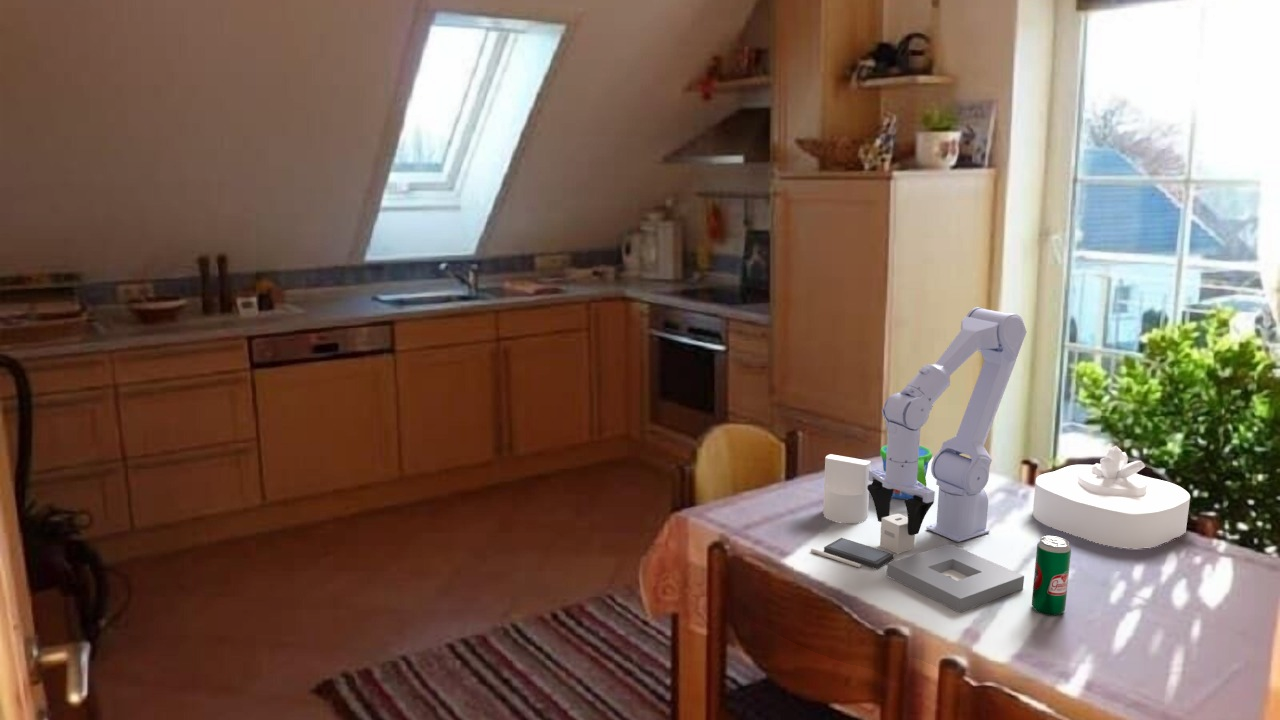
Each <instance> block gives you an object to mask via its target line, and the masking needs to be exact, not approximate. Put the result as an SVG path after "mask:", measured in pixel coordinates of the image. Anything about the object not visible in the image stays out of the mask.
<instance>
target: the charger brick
mask: <svg viewBox="0 0 1280 720" xmlns="http://www.w3.org/2000/svg"><path fill="white" fill-rule="evenodd" d="M915 537H916V534H915V535H909V534H908V516H905V515H903V514H901V513H894V514H891V515H890V514H889V516H887V517H883V518H882V521H881V522H880V542H879V545H880V546H881V547H882V548H884V549H886V550H889V551H891V552H893V553H895V554H901V553H904V552H907V551H911V550H913V549H915V541H916V538H915ZM880 546H879V547H880Z"/></svg>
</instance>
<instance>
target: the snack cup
mask: <svg viewBox="0 0 1280 720" xmlns="http://www.w3.org/2000/svg"><path fill="white" fill-rule="evenodd" d="M879 454H880V457H881V459H882V467H883V470H882V471H885V472H886V456H887V444H885V445H883V446H882V447H881V448H880V449H879ZM932 458H933V453H932V451H931V450H930V449H929V448H927V447H925V446H922V445H919V457H918V472H917V481H919V482H920V483H921V484H923V485H924V486H926V487H927V479H926V478H927V477H926V476H927V471H928V467H929V463H930V461H931V460H932ZM892 498H894V499H900V500H907V499H911V498H913V496H911V495H909V494H906V493H904V492H901V491H899V490H896V489H894V491H893V494H892Z"/></svg>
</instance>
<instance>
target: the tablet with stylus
mask: <svg viewBox="0 0 1280 720" xmlns="http://www.w3.org/2000/svg"><path fill="white" fill-rule="evenodd" d="M810 552H811V553H814V554H815V555H819V556H822V557H825V558H829V559H831V560H835V561H837V562H840V563H844V564H846V565H848V566H849V565H850V566H852V567H855V568H858V569H860V568H862V566H865V567H868V568H870V569H874V570H878V569H880V568H881V567H883V566H884V565H886V564H887V563H890V562H892V561H893V560H894V553H892V552H889V551H886V550H882V549H879V548H876V547H872V546H870V545H867V544H863V543H859V542H856V541H853V540H850V539H847V538H844V537H840V538H838V539H836V540H835V541H833V542H831V543H829V544H827V545H825V546H823V551H821V550H818V549H815V548H811V549H810Z"/></svg>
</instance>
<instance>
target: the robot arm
mask: <svg viewBox="0 0 1280 720" xmlns="http://www.w3.org/2000/svg"><path fill="white" fill-rule="evenodd" d="M1026 334H1027V330H1026V326H1025V323H1024V321H1023V318H1022V317H1021V316H1020V315H1018V314H1017V313H1008V312H1002V311H996V310H991V309H987V308H983V307H980V306H977V307H976V306H975V307H974V308H971V310H970V311H969V312H968V313H967V314H966V316H965V317H964V318H963V319H962V320H961V321H960V331H959V332H958V334H957V335H956V336H955V338H954V339H953V340H952V341H951V343H950V344H949V345H948V347H946V349H945V350H944V352H943V353H942V354H941V356H940V357H939V358H938V360H936V362H935V363H933V364H932V363H931V364H925V365H924V366H922V367H921V368H920V369H919V370H918V373H917V374H916V375H915V376H914V377H913V378H912V379H911V380H910V381H909V383H907V385H906V386H905V387H904V388H903V389H902V390H901V391H900V392H896V393H893V394H891V395H890V396H888V398H887V399H886V400H885V403H884V406H883V407H882V408H881V414H882V417H883V419H884V421H885V429H886V430H887V443H886V445H887V456H886V472H885V471H884V470H880V469H877V468H875V469H870V471H869V478H868V480H869V481H870V482H872V483H871V484H870V483H869V485H868V487H867V489H868V491H869V495H870V497H871V498H872V501H873V505H874V509H875V513H876V518H877V522H879V523H881V521H882V518H883V517H887V516H890V510H891V502H892V498H893V497H892V494H893V491H894V489H896V490H899V491H901V492H904V493H906V494H909V495H911V496H913V498H911V499H904V505H905V508H906V514H907V517H908V534H909V535H915V536H916V535H918V534H919V533H920V529H921V526H922V523H923V521H924V519H925V517H926V515H927V513H928V512H929V509H930V508H931V507H932V506H933V504H934V503H935V494H936V491H935V490H932V489H930V488H928V487H927V485H926V486H924V485H923V484H921V483H920V482H919V481H917V472H918V457H919V446H920V441H921V440H920V439H921V428H922V427H923V426H924V425H926V424H927V422H928V419H929V417H930V413H931V411H932V409H933V407H934V406H933V405H934V404H935V402H937V400H938V399H939V398H940V397H941V396H942V395H943V394H944V392H945V391H946V390H947V389H948V388H949V387H950V386H951V375H952V374H953V373H955V372H956V371H957V370H958V369H959V368H960V367H961V366H962V365H964V363H965V362H966V361H967V360H969V358H971V356H973V355H974V354H975V353H976V352H977V351H978V352H979V353H980V354H981V356H982V359H983V364H982V366H981V368H980V372H979V374H978V377H977V379H976V383H975V384H974V387H973V391H972V393H971V395H970V399H969V401H968V404H967V406H966V409H965V411H964V414H963V417H962V419H961V422H960V425H959V427H958V430H957V433H956V435H954V437H952V438H949V439H947V440H945V441H943V442H942V445H941V448H940V449H939V451H938V452H937V453H936V454H935V456H934V457H933V459H932V461H931V465H930V466H931V467H930V471H931V475H932V477H933V478H934V479H935V480H936V486H938V498H937V511H936V512H937V513H936V523H934V524H929V525H927V526H926V530H928V531H930V532H933V533H935V534H938V535H940V536H942V537H945V538H947V539H950V540H952V541H954V542H957V543H959V542H960V543H961V542H963V541H967V540H970V539H973V538H975V537H978V536H981V535H985V534H988V533H990V529H989V528H987V522H988V521H987V520H988V512H989V511H988V509H989V498H988V495H987V491H986V490H985V487H986V486H987V484H988V481H989V476H990V467H991V464H992V461H993V460H992V458H991V456H990V454H989V453H988V451H987V450H986V448H985V444H986V441H987V439H988V436H989V434H990V430H991V428H992V425H993V423H994V420H995V417H996V415H997V412H998V409H999V407H1000V404H1001V402H1002V399H1003V396H1004V394H1005V392H1006V388H1007V386H1008V383H1009V380H1010V378H1011V376H1012V375H1011V374H1012V373H1013V370H1014V367H1015V364H1016V361H1017V358H1018V357H1019V356H1018V355H1019V353H1020V352H1021V351H1020V350H1021V347H1022V345H1023V343H1024V340H1025V337H1026ZM963 454H964V455H966V456H963ZM967 456H969V457H970V458H969V457H967Z"/></svg>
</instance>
